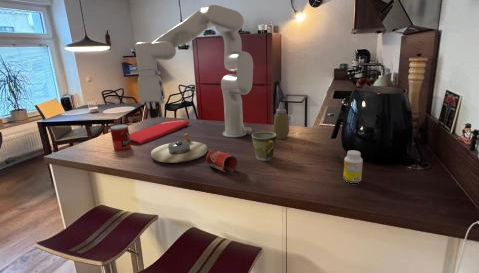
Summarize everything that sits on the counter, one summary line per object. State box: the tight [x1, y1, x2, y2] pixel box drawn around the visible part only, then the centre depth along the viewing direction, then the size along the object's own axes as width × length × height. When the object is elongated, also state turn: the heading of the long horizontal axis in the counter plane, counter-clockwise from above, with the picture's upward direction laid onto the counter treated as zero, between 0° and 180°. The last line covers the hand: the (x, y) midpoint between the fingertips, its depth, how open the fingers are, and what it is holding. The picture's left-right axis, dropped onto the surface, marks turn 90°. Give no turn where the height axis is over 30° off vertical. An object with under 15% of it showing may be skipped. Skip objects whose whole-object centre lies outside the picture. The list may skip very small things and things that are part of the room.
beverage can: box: [205, 149, 238, 174], centre depth 109 cm, size 7×12×7 cm, turn 43°
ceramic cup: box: [251, 131, 277, 162], centre depth 116 cm, size 13×10×10 cm
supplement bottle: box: [342, 149, 364, 184], centre depth 94 cm, size 6×6×10 cm
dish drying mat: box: [129, 119, 190, 146], centre depth 162 cm, size 16×41×4 cm, turn 152°
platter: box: [150, 133, 208, 164], centre depth 125 cm, size 24×24×5 cm
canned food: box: [110, 124, 132, 152], centre depth 137 cm, size 8×8×11 cm
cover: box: [168, 140, 190, 154], centre depth 123 cm, size 9×9×4 cm
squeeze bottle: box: [272, 101, 290, 140], centre depth 142 cm, size 8×8×18 cm
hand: (154, 117), depth 123 cm, fingers closed
